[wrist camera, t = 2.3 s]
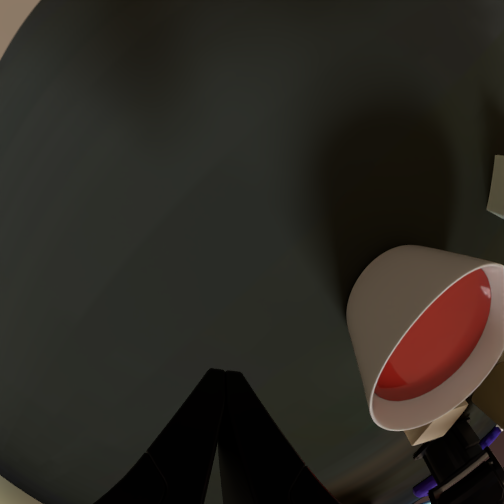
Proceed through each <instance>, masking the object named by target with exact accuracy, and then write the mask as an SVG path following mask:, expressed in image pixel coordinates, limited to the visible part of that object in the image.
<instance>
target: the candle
mask: <svg viewBox="0 0 504 504" xmlns="http://www.w3.org/2000/svg"><path fill="white" fill-rule="evenodd" d="M346 320H347V327H348V331H349V335H350V339H351V342H352V346H353V349H354V353H355V357H356V360H357V364H358V368H359V371H360V375H361V379H362V383H363V387H364V391H365V395H366V399H367V403H368V407H369V411H370V414H371V417H372V419H373V421H374V422H375V423H376V424H377V425H378V426H380V427H381V428H384V429H386V430H391V431H404V430H410V429H414V428H417V427H420V426H423V425H426V424H428V423H430V422H432V421H434V420H436V419H438V418H440V417H442V416H443V415H445V414H447V413H448V412H450V411H451V410H452V409H454V408H455V407H456V406H458V405H459V404H460V403H461V402H463V401H464V400H465V399H466V398H467V397H468V396H469V395H470V394H471V393H472V392H473V391H474V390H475V389H476V388H477V387H478V386H479V385H480V384H481V383H482V382H483V380H484V379H485V378H486V377H487V375H488V374H489V373H490V372H491V370H492V369H493V367H494V366H495V364H496V363H497V361H498V359H499V358H500V356H501V354H502V352H503V351H504V265H502V264H499V263H496V262H492V261H488V260H484V259H480V258H475V257H471V256H467V255H462V254H458V253H454V252H449V251H445V250H440V249H435V248H430V247H425V246H419V245H402V246H398V247H395V248H392V249H390V250H388V251H386V252H384V253H382V254H381V255H379V256H378V257H377V258H376V259H374V260H373V261H372V262H371V263H370V264H369V265H368V266H367V267H366V268H365V269H364V271H363V272H362V273H361V275H360V276H359V277H358V279H357V281H356V282H355V284H354V286H353V288H352V291H351V293H350V296H349V299H348V304H347V311H346Z"/></svg>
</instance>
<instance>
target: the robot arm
mask: <svg viewBox="0 0 504 504" xmlns="http://www.w3.org/2000/svg"><path fill="white" fill-rule="evenodd" d="M470 420H471V419H470V418H469V417H468V418H466V419H463V420H460V421H458V422H455V423H454V424H453V425H452V426H451V428H450V429H449V430H448V431H447V432H446V433H445V435H444V436H442V437H439V438H436V439H433V440H430V441H428V442H427V443H426V444H425V446H424V447H423V448H422V449H421V450H420V451H419V452H418V453H417V454H416V455H415V456H414V457H413V458H414V460H417V459H420V458H423V459H424V461H425V462H426V464H427V466H428V468H429V470H430V472H431V474H432V476H433V478H434V480H435V482H436V484H437V486H435V487H434V488H431V489H430V490H428V493H427V494H428V496H429V498H430V502H431V504H504V470H503V468H502V467H501V465H500V463H499V462H498V460H497V459H496V457H495V456H494V454H493V453H492V451H491V450H490V448H489V447H488V446H486V447H485V448H484V450H483V449H482V447H481V446H480V444H479V442H480V439H479V438H478V436H477V435H476V433H475V432H474V431H473V429H472V428H471V426H470V425H469V424H468V423H469V422H470ZM217 442H218V456H219V467H220V477H221V487H222V496H223V504H341V503H340V502H339V501H338V500H337V499H336V498H335V497H334V496H333V495H332V494H331V493H330V492H329V491H328V490H327V489H326V488H325V487H324V486H323V485H322V483H321V482H320V481H319V480H318V479H317V478H316V476H315V475H314V474H313V473H312V471H311V470H310V469H309V467H308V466H305V463H304V461H303V460H302V459H301V457H300V456H299V455H298V453H297V452H296V451H295V449H294V448H293V447H292V445H291V444H290V443H289V441H288V440H287V439H286V437H285V436H284V434H283V433H282V432H281V430H280V429H279V427H278V426H277V425H276V423H275V422H274V420H273V419H272V418H271V416H270V415H269V413H268V412H267V410H266V409H265V407H264V406H263V404H262V403H261V401H260V400H259V399H258V397H257V396H256V394H255V393H254V391H253V390H252V388H251V386H250V385H249V383H248V382H247V380H246V379H245V377H244V376H243V374H242V373H241V372H237V371H229V370H228V371H226V372H225V371H224V370H221V369H214V368H210V369H209V370H208V371H207V372H206V374H205V375H204V377H203V378H202V379H201V381H200V382H199V383H198V385H197V386H196V387H195V389H194V390H193V391H192V393H191V394H190V395H189V397H188V398H187V399H186V401H185V402H184V403H183V404H182V406H181V407H180V408H179V410H178V411H177V412H176V414H175V415H174V416H173V417H172V419H171V420H170V421H169V423H168V424H167V425H166V427H165V428H164V429H163V430H162V432H161V433H160V434H159V435H158V437H157V438H156V439H155V441H154V442H153V443H152V444H151V446H150V447H149V448H148V449H147V451H146V452H147V453H144V454H143V455H142V457H141V458H140V459H139V460H138V461H137V463H136V464H135V465H134V466H133V467H132V468H131V469H130V471H129V472H128V473H127V474H126V475H125V476H124V477H123V478H122V479H121V480H120V481H119V482H118V483H117V484H116V485H115V486H114V487H113V488H111V489H110V490H109V491H108V492H107V493H106V494H105V495H103V496H102V497H101V498H100V499H98V500H97V501H96V502H95V503H93V504H204V502H205V497H206V493H207V488H208V484H209V479H210V475H211V470H212V465H213V461H214V456H215V452H216V447H217ZM488 456H489V457H490V458H489V459H488V460H487V461H484V462H483V463H481V462H482V461H483V460H484V459H485V458H487V457H488ZM480 463H481V464H480ZM478 464H480V465H479V466H478V467H476V466H477V465H478ZM475 467H476V468H475ZM473 468H475V469H474V470H473V471H472V472H470V471H471V470H472V469H473ZM468 472H470V473H469V474H468V475H467V476H465V477H464V478H463V479H461V480H460V481H458V480H459V479H460V478H462V477H463V476H464V475H466V474H467V473H468ZM456 481H458V482H457V483H456V484H454V483H455V482H456ZM452 484H454V485H453V486H451V485H452ZM449 486H451V487H450V488H449V489H447V490H446V491H444V492H443V490H445V489H446V488H448V487H449Z"/></svg>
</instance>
